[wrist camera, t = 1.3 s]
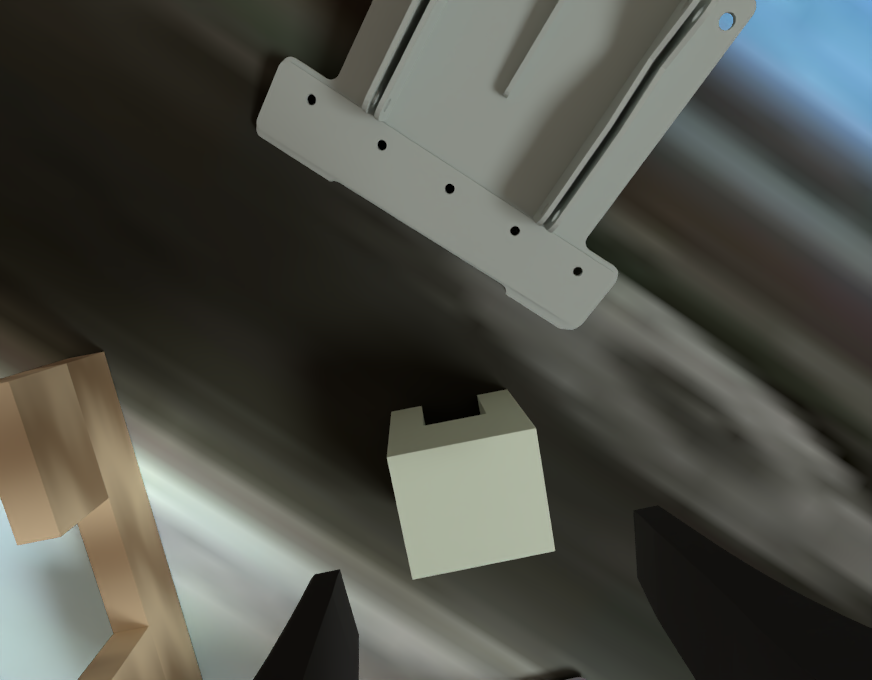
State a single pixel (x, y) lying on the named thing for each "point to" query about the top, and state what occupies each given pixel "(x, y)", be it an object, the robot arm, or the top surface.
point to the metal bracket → (504, 124)
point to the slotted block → (469, 487)
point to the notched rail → (93, 509)
